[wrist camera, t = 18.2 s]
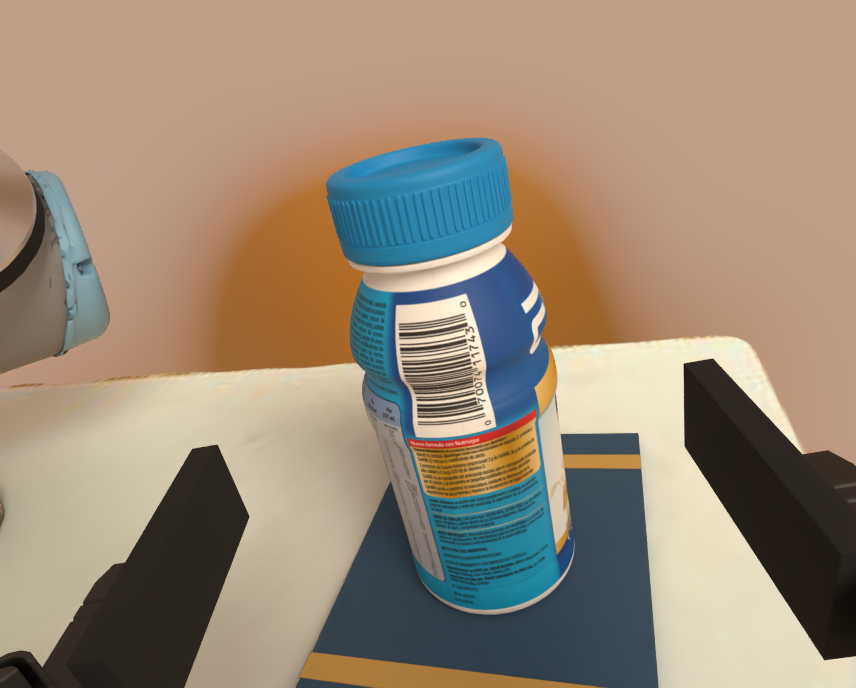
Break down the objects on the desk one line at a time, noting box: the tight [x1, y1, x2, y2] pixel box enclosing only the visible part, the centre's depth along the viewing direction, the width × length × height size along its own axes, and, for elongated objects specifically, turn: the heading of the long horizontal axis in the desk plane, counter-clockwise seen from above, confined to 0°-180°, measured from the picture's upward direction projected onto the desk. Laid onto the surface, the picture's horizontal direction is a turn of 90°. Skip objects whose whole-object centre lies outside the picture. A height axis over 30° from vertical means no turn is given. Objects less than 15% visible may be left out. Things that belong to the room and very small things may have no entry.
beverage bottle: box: [326, 138, 575, 615], centre depth 26 cm, size 8×8×20 cm
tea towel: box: [296, 433, 658, 688], centre depth 30 cm, size 20×15×1 cm
